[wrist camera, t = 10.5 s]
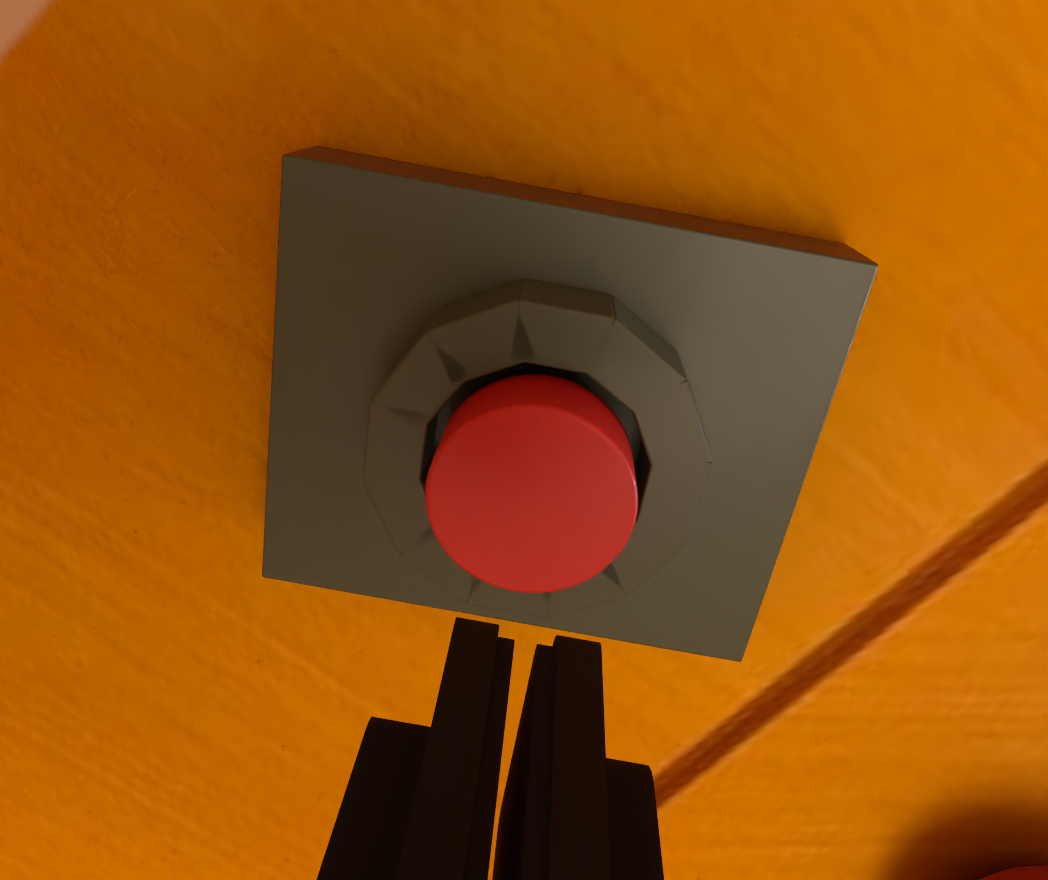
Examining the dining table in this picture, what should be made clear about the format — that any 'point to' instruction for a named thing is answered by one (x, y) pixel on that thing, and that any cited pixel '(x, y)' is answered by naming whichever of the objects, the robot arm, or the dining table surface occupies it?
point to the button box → (556, 350)
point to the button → (533, 484)
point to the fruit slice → (1021, 873)
